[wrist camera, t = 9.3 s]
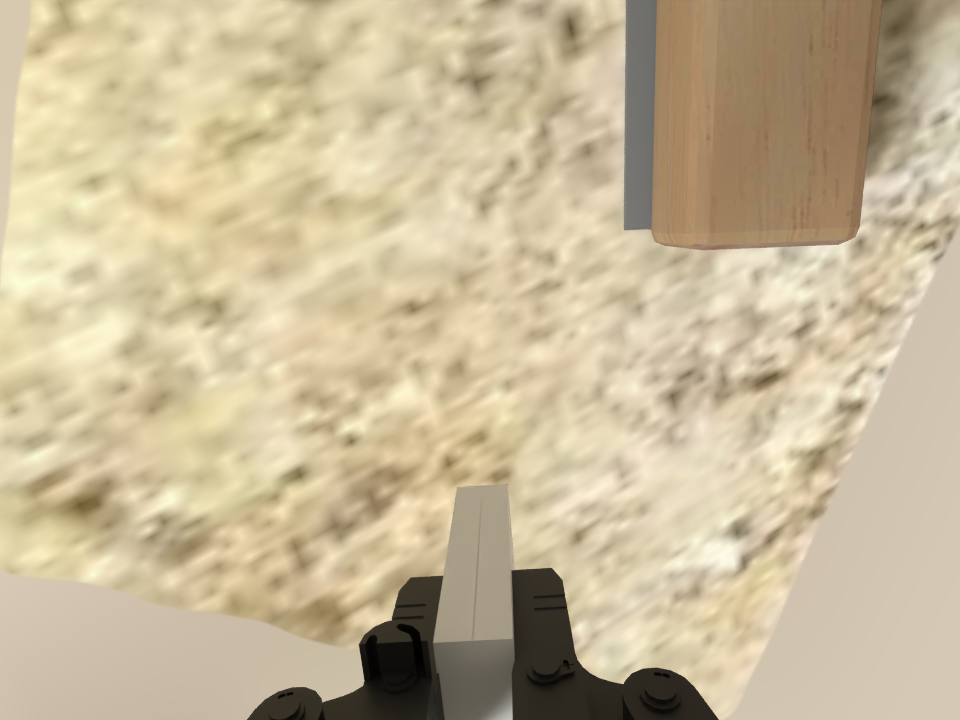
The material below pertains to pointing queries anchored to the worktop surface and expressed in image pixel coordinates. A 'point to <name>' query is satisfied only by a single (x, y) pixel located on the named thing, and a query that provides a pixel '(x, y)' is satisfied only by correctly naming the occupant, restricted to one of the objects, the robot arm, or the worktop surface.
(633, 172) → the mat
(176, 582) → the worktop surface
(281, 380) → the worktop surface
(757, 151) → the wooden block
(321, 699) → the robot arm
